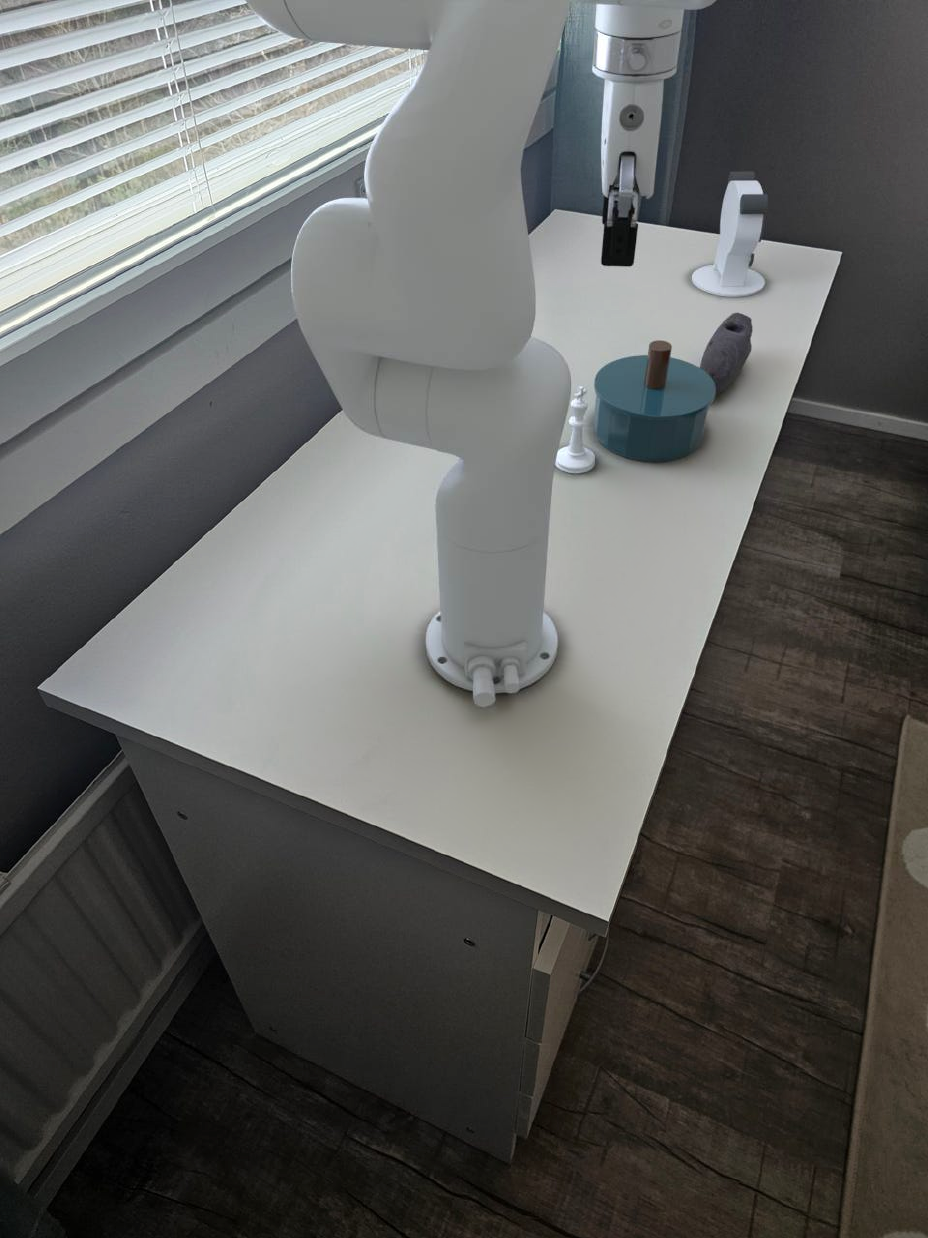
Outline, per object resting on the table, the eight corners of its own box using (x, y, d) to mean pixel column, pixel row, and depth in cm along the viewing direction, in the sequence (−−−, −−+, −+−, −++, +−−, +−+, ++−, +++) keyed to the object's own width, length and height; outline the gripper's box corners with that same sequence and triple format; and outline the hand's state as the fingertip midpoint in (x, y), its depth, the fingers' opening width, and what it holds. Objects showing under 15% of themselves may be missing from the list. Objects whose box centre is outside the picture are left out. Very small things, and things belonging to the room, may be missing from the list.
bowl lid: (727, 422, 103) (738, 374, 98) (603, 427, 102) (608, 378, 98) (698, 361, 113) (707, 314, 109) (585, 365, 113) (589, 319, 108)
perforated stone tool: (719, 412, 114) (729, 363, 109) (680, 402, 116) (688, 353, 111) (753, 361, 123) (764, 314, 118) (716, 353, 125) (726, 305, 120)
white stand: (772, 298, 137) (796, 197, 127) (698, 298, 138) (716, 197, 127) (756, 265, 146) (777, 168, 135) (686, 266, 146) (702, 168, 136)
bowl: (713, 459, 107) (723, 416, 102) (602, 464, 106) (607, 420, 102) (688, 401, 116) (696, 359, 112) (586, 405, 116) (590, 362, 112)
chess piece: (603, 460, 107) (611, 386, 100) (578, 478, 104) (585, 403, 97) (571, 445, 109) (577, 371, 102) (545, 462, 107) (550, 388, 100)
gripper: (683, 81, 73) (656, 283, 85) (674, 26, 85) (651, 210, 97) (591, 80, 73) (577, 281, 86) (594, 26, 85) (582, 209, 98)
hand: (617, 243), depth 91 cm, fingers open, 9 cm apart
